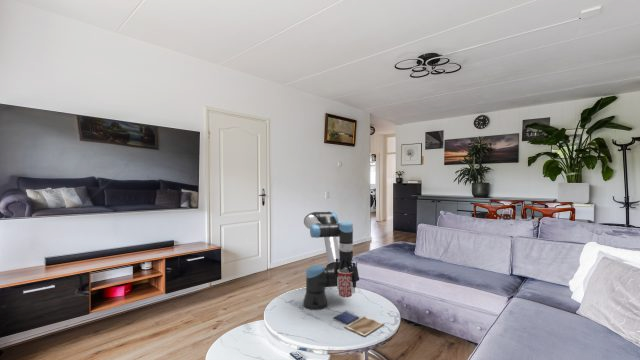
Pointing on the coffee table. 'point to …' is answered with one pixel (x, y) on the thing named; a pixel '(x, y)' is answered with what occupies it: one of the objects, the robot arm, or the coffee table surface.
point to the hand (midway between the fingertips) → (346, 290)
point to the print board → (364, 326)
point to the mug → (344, 282)
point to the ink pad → (345, 318)
